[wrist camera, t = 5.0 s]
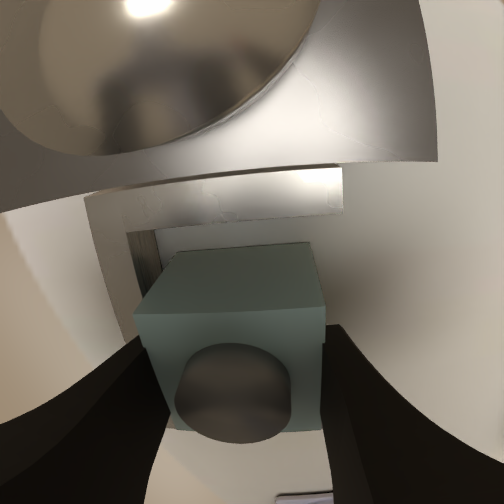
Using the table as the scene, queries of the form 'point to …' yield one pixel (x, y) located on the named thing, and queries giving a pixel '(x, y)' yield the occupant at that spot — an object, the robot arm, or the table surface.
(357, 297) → the table surface
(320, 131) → the motor mount
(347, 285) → the table surface
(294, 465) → the table surface
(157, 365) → the pale blue block
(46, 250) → the table surface
